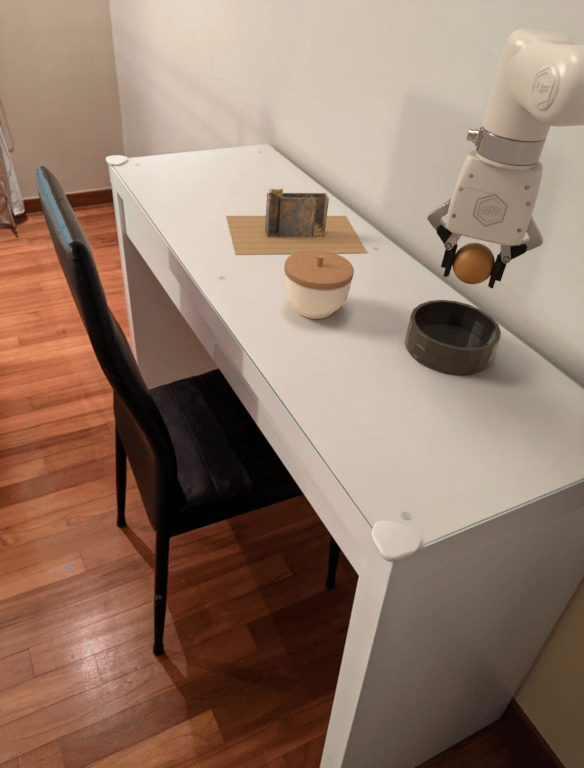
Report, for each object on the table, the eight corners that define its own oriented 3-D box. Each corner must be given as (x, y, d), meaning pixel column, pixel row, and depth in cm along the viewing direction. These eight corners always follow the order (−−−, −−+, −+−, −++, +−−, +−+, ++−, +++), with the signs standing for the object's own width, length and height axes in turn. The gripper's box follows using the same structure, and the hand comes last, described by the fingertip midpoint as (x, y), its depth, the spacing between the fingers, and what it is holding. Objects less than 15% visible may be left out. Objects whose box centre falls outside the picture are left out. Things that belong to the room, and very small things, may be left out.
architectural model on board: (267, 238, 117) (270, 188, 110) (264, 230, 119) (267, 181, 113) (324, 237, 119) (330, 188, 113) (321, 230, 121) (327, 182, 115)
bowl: (495, 337, 97) (504, 313, 94) (487, 385, 87) (496, 360, 84) (414, 315, 99) (420, 292, 97) (396, 360, 90) (402, 335, 87)
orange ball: (490, 277, 87) (501, 241, 84) (485, 295, 83) (498, 258, 80) (451, 268, 88) (461, 232, 85) (445, 285, 84) (455, 248, 81)
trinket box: (359, 307, 100) (368, 255, 94) (324, 335, 93) (332, 281, 87) (304, 284, 104) (310, 233, 98) (267, 310, 97) (271, 256, 91)
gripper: (434, 142, 73) (403, 275, 84) (583, 171, 69) (530, 306, 81) (444, 125, 79) (414, 252, 90) (582, 152, 75) (532, 281, 86)
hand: (469, 277), depth 85 cm, fingers closed on orange ball, 5 cm apart
